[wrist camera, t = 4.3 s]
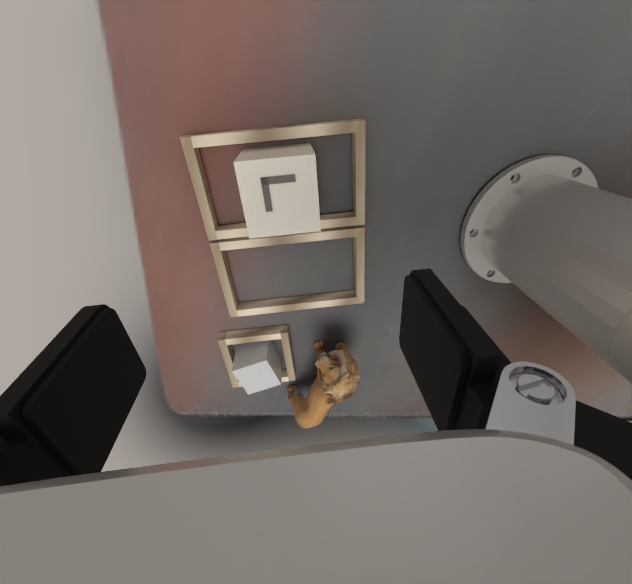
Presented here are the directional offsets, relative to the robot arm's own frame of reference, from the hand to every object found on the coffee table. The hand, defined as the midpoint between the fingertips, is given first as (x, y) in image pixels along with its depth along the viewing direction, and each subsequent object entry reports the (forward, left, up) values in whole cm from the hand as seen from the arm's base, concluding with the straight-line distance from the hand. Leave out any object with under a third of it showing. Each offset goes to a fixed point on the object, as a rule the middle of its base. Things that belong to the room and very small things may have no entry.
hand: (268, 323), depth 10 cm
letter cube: (0, 0, -20) cm, 20 cm away
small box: (+5, +19, -20) cm, 28 cm away
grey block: (+5, +19, -20) cm, 28 cm away
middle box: (0, +9, -20) cm, 22 cm away
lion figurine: (-2, +22, -20) cm, 29 cm away
